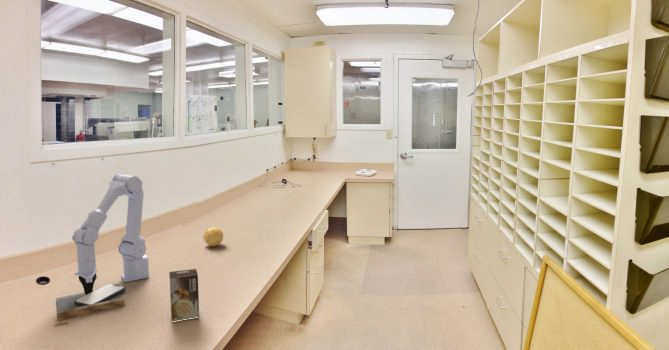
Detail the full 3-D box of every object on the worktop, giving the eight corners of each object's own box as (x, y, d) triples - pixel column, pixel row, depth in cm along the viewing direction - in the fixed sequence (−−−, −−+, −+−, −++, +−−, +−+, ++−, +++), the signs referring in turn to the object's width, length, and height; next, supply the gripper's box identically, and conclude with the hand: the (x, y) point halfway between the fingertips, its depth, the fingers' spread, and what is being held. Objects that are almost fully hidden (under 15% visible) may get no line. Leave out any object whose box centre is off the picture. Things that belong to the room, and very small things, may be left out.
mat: (117, 286, 161) (116, 285, 160) (124, 304, 147) (124, 303, 146) (56, 298, 149) (56, 297, 149) (57, 319, 135) (57, 317, 135)
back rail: (124, 304, 147) (123, 297, 146) (124, 305, 145) (124, 299, 145) (57, 318, 135) (57, 311, 134) (58, 320, 134) (57, 313, 133)
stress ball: (214, 243, 217) (199, 233, 213) (226, 230, 217) (212, 220, 213) (214, 253, 208) (199, 242, 204) (227, 239, 208) (212, 228, 204)
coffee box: (197, 310, 144) (197, 268, 142) (199, 319, 138) (198, 275, 136) (170, 314, 141) (169, 271, 138) (170, 323, 135) (169, 278, 132)
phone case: (91, 309, 141) (127, 290, 156) (91, 305, 141) (127, 286, 156) (72, 305, 144) (109, 286, 159) (72, 301, 144) (109, 282, 159)
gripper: (72, 255, 153) (74, 288, 155) (75, 268, 141) (77, 304, 143) (94, 252, 157) (95, 284, 159) (98, 264, 145) (100, 299, 147)
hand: (88, 293), depth 151 cm, fingers closed
